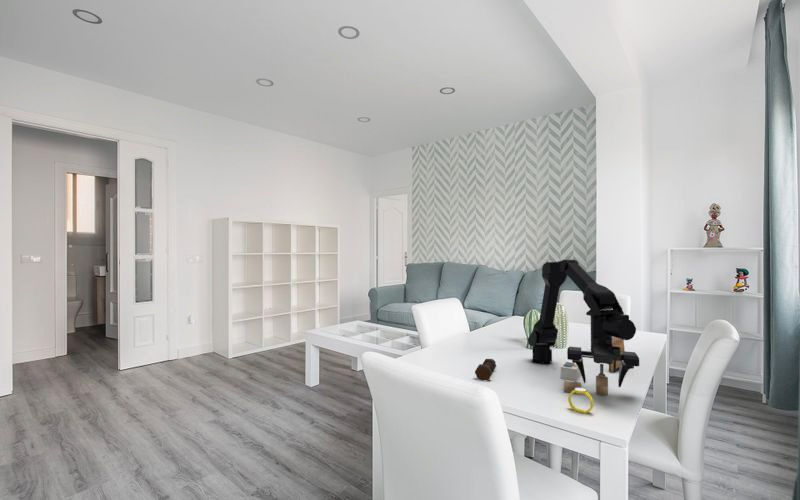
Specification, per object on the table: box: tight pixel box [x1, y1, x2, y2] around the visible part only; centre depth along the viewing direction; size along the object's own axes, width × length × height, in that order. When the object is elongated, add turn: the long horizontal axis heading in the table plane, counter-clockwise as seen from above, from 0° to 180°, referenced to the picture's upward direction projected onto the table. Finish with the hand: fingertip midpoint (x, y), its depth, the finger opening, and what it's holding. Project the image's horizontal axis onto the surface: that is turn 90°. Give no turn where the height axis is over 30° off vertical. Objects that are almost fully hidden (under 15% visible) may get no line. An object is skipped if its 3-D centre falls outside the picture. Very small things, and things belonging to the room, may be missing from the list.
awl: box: [595, 363, 609, 397], centre depth 115 cm, size 3×3×9 cm
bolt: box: [474, 358, 497, 381], centre depth 134 cm, size 6×5×15 cm
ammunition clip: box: [608, 337, 625, 374], centre depth 137 cm, size 11×2×12 cm, turn 131°
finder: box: [560, 361, 582, 382], centre depth 130 cm, size 5×7×4 cm
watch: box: [567, 387, 594, 414], centre depth 103 cm, size 6×3×6 cm, turn 51°
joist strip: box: [563, 380, 583, 395], centre depth 127 cm, size 5×25×1 cm, turn 156°
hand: (601, 384), depth 115 cm, fingers open, 9 cm apart
